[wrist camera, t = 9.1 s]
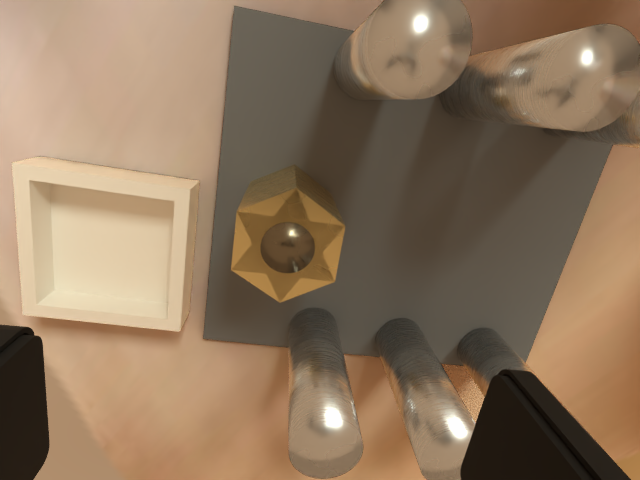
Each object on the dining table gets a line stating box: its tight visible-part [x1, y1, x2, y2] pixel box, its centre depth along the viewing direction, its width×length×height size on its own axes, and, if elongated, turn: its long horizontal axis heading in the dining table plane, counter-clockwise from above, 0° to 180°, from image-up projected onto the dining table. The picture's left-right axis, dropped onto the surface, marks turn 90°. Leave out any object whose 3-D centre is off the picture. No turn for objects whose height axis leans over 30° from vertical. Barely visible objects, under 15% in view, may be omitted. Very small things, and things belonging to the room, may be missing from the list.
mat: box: [203, 6, 613, 366], centre depth 23 cm, size 18×21×1 cm
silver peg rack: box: [289, 0, 640, 480], centre depth 18 cm, size 18×14×9 cm
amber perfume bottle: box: [231, 164, 345, 302], centre depth 19 cm, size 4×5×6 cm
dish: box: [12, 156, 200, 332], centre depth 21 cm, size 8×8×2 cm
